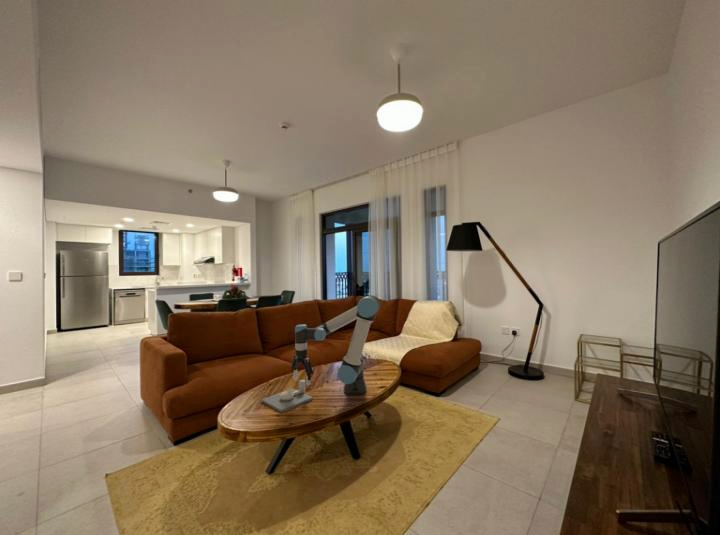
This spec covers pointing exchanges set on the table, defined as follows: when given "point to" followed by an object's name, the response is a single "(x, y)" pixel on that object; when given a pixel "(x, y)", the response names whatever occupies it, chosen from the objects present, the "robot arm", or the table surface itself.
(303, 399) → the lock base
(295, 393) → the locking lever
